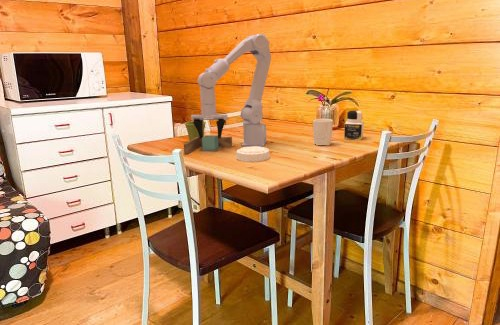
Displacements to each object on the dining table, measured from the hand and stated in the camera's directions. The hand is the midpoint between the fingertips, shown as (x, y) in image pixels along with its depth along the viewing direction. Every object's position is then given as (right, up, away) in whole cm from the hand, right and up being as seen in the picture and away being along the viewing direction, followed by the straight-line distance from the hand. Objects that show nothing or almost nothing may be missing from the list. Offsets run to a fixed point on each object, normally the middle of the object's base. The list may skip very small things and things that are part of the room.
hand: (210, 137), depth 152 cm
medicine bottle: (+61, 0, +13) cm, 63 cm away
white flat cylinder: (+17, -9, -15) cm, 24 cm away
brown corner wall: (0, -5, -1) cm, 5 cm away
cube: (0, -4, +1) cm, 4 cm away
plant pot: (-8, -1, +16) cm, 18 cm away
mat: (0, -4, +1) cm, 5 cm away
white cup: (+46, -3, +4) cm, 46 cm away
